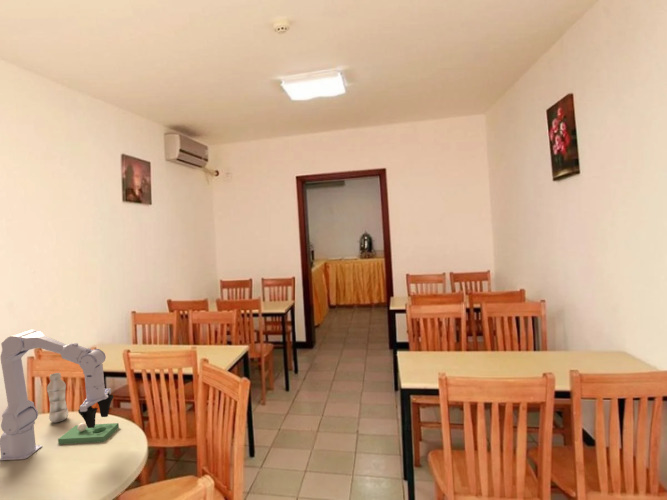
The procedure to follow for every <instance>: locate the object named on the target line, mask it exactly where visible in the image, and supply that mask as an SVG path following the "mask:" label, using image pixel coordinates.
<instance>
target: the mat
mask: <svg viewBox="0 0 667 500" xmlns="http://www.w3.org/2000/svg"><path fill="white" fill-rule="evenodd" d="M78 425H79V424H78ZM78 425H74V426H73V427H71V428H70V429H69V430H68V431H66V432H65V433H64V434H63V435H61V436H60V437H59V438H57V444H58V445H69V444H70V445H71V444H72V445H73V444H86V443H87V444H88V443H89V444H90V443H105V442H106V441H107V440H108V438H110V437H111V436H112V435H113V434H114V433H115V432H116V431H117V430H118V429H119V428H120V426H119V422H117V423H116V422H114V423H97V424H96V423H95V427H94V428H88V427H87V429H86V430H85V431H83V432H80V431H78V429H77V427H78Z"/></svg>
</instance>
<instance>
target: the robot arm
mask: <svg viewBox="0 0 667 500" xmlns="http://www.w3.org/2000/svg"><path fill="white" fill-rule="evenodd" d="M0 345H1V352H0V353H1V354H0V363H1V371H2V376H3V382H4V388H5V393H6V394H5V395H6V401H7V407H5V408H6V409H5V410H4V411H3V413H2V414H1V417H2V419H1V420H2V421H1V424H0V428H1V430H2V432H3V433H2V434H1V436H0V461H8V460H9V461H12V460H14V461H15V460H26V459H28V458H29V457H30V456H32V455H33V454H35V452H37V451H39V450H40V449H41V448H42V447H43V445H42V444H39V445H37V444H36V435H35V426H34V425H35V424H36V420H37V419H38V416H39V411H38V409H37V407H36V406H35V402H34V401H32V400H29V399H28V398H29V397H28V392H27V386H26V385H27V384H26V381H25V374H24V367H23V359H22V358H23V357H24V356H25V354H27V353H28V352H29V351H30V350H34V349H42V350H46V351H48V352H53V353H56V354H59V355H60V357H61V358H62V359H63V360H66V361H69V362H71V363H74V364H76V365H79V367H80V369H81V370H82V371H83V373H82V374H83V375H84V383H85V384H84V385H85V397H86V398H85V399H84V401H83V402H82V404H81V405H80V406H79V409H78V414H79V415H80V416H81V417H82V418H83V420H84V423H86V424H87V427H88V428H94V427H95V424H96V416H97V414H96V413H97V412H98V408H99V414H100V417H101V418H108V417H109V413H110V408H111V404H112V402H113V399H114V395H113V394H112V388H105V377H104V376H105V375H104V365H103V363H104V362H105V361H106V353H105V352H104V351H103V350H101V349H100V348H94V349H91V348H90V347H84V346H81V345H79V343H78V342H71V343H68V344H66V343H63V342H61V341H59V340H57V339H54V338H51V337H50V336H47V335H45V334H44V333H43V332H42V331H38V330H37V329H28V330H26V331H23V332H21V333H18V334H14V335H10V336H8V337H6V338H5V339H4V340H3V341H2V342H1V344H0ZM95 404H97V405H98V407H93V406H94V405H95Z"/></svg>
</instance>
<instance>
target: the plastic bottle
mask: <svg viewBox="0 0 667 500" xmlns="http://www.w3.org/2000/svg"><path fill="white" fill-rule="evenodd" d="M66 390H67V385H66V382H65V381H64V380H63V379H62V375H61V372H55V373H51V374H49V383H48V384H47V386H46V391H47V397H48V401H49V413H48V419H49V421H50V422H51V423H55V424H56V423H60V422H63V421H65V420H67V418H68V416H69V410H68V407H67V402H66Z"/></svg>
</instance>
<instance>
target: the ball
mask: <svg viewBox="0 0 667 500" xmlns="http://www.w3.org/2000/svg"><path fill="white" fill-rule="evenodd" d="M77 429H78V431H80V432H83V431H85V430H86V429H87V424H86V422H81V423H79V424H78V427H77Z"/></svg>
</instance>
